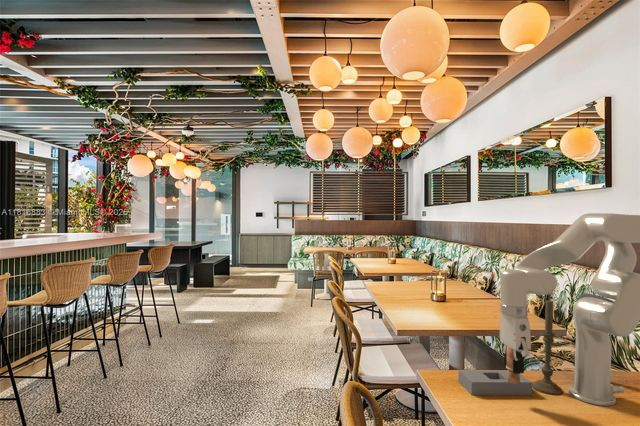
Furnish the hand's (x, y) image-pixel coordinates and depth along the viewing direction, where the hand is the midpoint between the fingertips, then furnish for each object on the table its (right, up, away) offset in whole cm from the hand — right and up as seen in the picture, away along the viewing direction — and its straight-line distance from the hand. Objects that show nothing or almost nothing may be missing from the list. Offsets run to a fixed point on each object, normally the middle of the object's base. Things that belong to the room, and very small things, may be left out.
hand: (513, 369), depth 123 cm
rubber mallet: (+38, -12, +20) cm, 45 cm away
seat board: (-2, -10, +10) cm, 14 cm away
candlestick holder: (+16, -11, +11) cm, 22 cm away
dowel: (0, -4, 0) cm, 4 cm away
